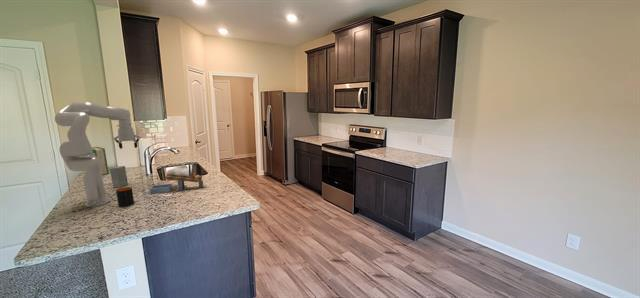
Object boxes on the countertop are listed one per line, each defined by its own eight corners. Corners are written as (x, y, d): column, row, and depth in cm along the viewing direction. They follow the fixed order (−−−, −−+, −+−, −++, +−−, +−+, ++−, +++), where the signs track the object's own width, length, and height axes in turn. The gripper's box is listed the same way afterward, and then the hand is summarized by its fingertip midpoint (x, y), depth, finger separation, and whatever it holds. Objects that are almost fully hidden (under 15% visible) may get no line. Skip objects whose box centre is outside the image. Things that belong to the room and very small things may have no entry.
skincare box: (121, 188, 208) (117, 168, 205) (112, 188, 208) (108, 168, 205) (128, 184, 216) (126, 165, 213) (120, 184, 216) (117, 165, 213)
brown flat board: (203, 176, 218) (203, 171, 218) (200, 182, 202) (201, 177, 202) (169, 173, 211) (170, 168, 210) (163, 179, 195) (164, 173, 194)
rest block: (202, 188, 204) (201, 182, 203) (199, 188, 204) (198, 182, 203) (203, 186, 209) (202, 180, 208) (199, 186, 208) (199, 180, 208)
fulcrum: (187, 186, 209) (186, 175, 208) (184, 191, 198) (183, 180, 196) (179, 187, 207) (177, 176, 206) (175, 192, 196) (174, 181, 195)
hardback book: (108, 174, 248) (104, 148, 243) (99, 176, 242) (94, 149, 237) (101, 171, 258) (97, 146, 253) (92, 173, 252) (87, 148, 247)
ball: (199, 180, 203) (200, 176, 203) (194, 180, 202) (195, 175, 202) (200, 179, 207) (200, 174, 206) (195, 178, 206) (195, 174, 205)
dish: (169, 192, 197) (169, 187, 196) (150, 194, 193) (149, 189, 192) (172, 188, 205) (171, 183, 204) (153, 190, 201) (153, 185, 200)
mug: (119, 209, 166) (117, 193, 164) (118, 204, 175) (115, 189, 173) (135, 206, 171) (133, 190, 169) (133, 201, 180) (131, 186, 178)
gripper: (110, 126, 200) (113, 149, 203) (137, 125, 205) (140, 148, 208) (114, 126, 207) (117, 148, 210) (140, 125, 212) (142, 146, 215)
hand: (128, 148), depth 209 cm, fingers open, 9 cm apart
